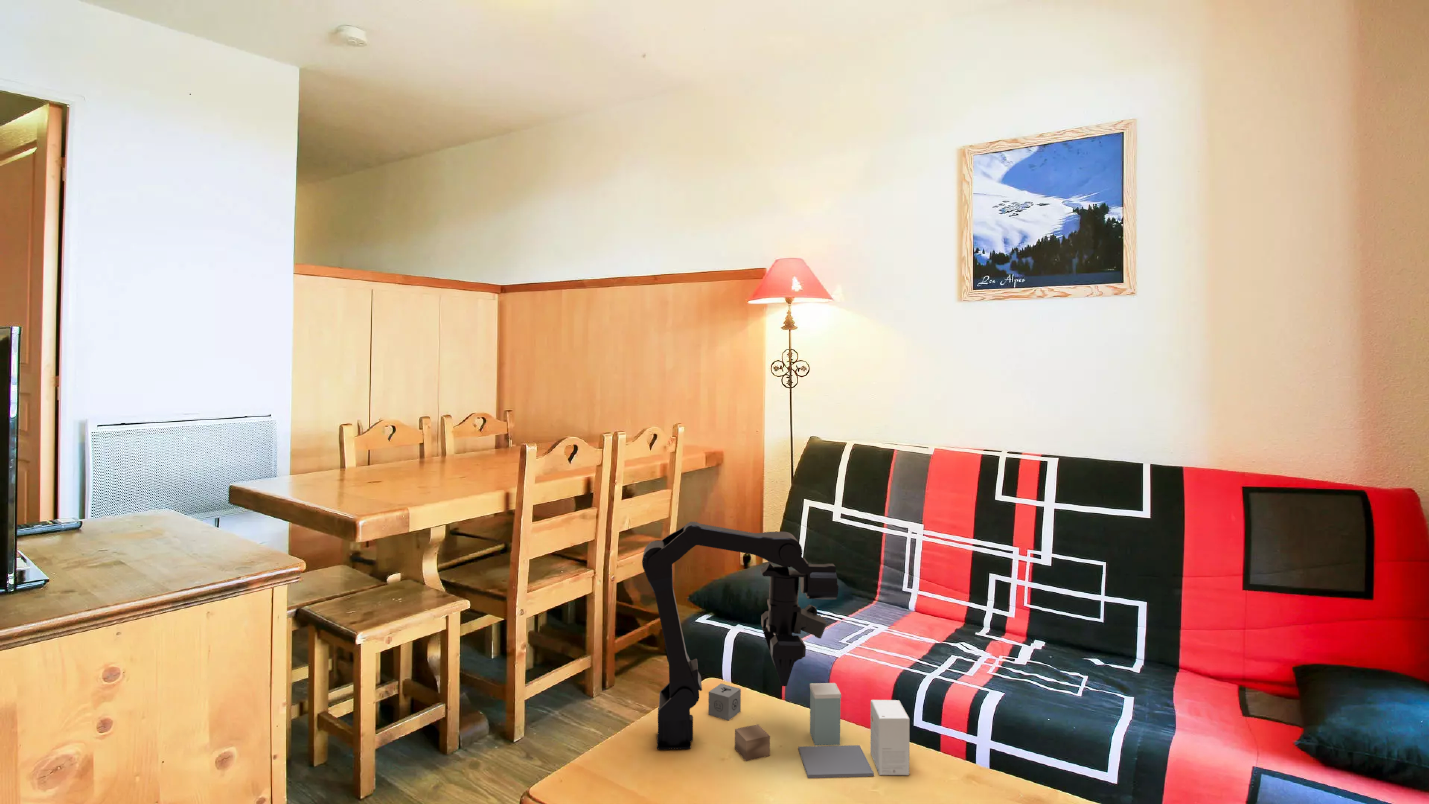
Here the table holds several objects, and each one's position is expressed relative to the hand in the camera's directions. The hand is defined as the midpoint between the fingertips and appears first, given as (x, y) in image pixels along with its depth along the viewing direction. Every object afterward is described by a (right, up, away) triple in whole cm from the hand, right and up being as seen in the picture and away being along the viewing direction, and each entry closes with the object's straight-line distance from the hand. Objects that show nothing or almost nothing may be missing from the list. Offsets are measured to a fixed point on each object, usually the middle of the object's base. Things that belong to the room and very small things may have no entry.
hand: (780, 676), depth 142 cm
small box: (+19, -13, -9) cm, 25 cm away
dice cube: (-11, -13, +12) cm, 20 cm away
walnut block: (-6, -13, -4) cm, 15 cm away
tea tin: (+9, -13, +1) cm, 16 cm away
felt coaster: (+9, -13, -8) cm, 18 cm away
